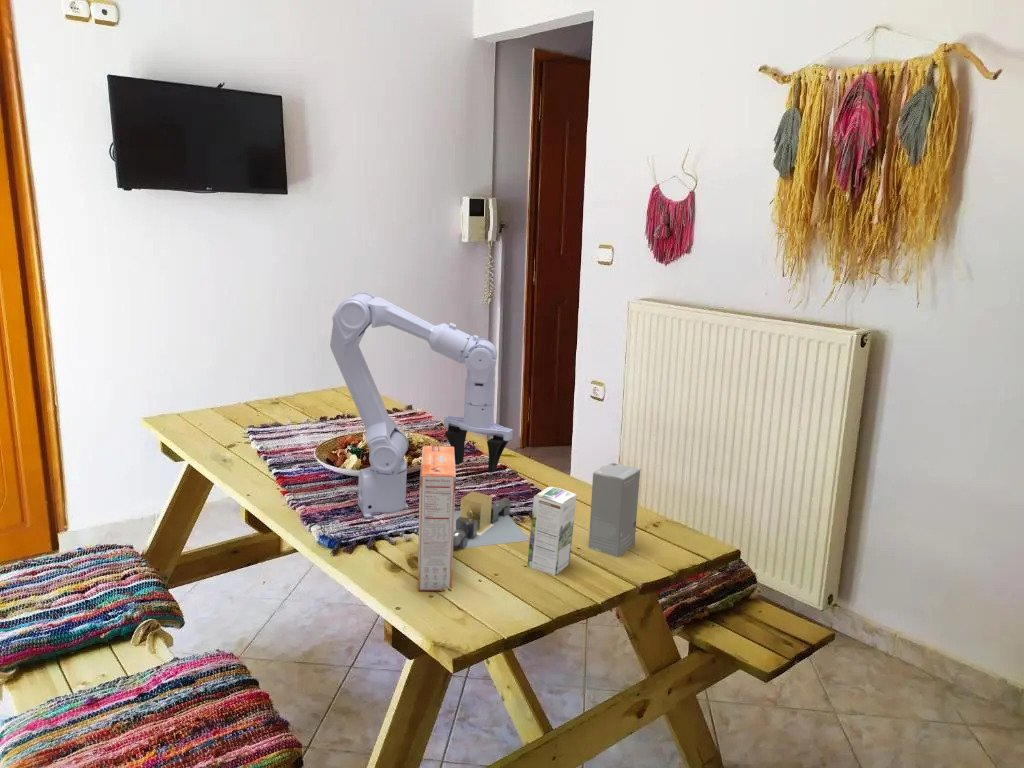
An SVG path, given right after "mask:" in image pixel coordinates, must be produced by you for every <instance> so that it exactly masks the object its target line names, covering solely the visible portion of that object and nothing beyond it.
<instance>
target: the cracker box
mask: <svg viewBox="0 0 1024 768" xmlns="http://www.w3.org/2000/svg"><path fill="white" fill-rule="evenodd" d="M421 452H422V453H421V461H420V472H419V473H420V475H419V492H418V493H419V496H418V497H419V499H418V543H417V545H418V548H417V551H418V552H417V553H418V556H417V558H418V559H417V563H418V564H417V568H418V569H417V579H418V580H417V581H418V582H417V585H418V587H417V588H418V591H419V592H421V591H423V592H430V591H431V592H437V591H439V592H445V591H446V590H445V589H451V588H453V587H452V586H453V584H452V583H453V563H454V562H453V559H454V558H453V557H454V556H453V555H454V549H453V536H454V511H456V510H455V509H456V508H455V506H456V505H455V504H456V503H455V502H456V485H457V477H456V476H457V475H456V474H457V473H456V464H455V454H454V447H451V446H450V445H449V446H448V445H447V446H438V445H423V446H422V451H421Z"/></svg>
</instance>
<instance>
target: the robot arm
mask: <svg viewBox="0 0 1024 768" xmlns="http://www.w3.org/2000/svg"><path fill="white" fill-rule="evenodd" d="M331 319H332V328H331V335H330V336H331V337H330V345H329V346H330V350H331V352H332V354H333V357H334V359H335V362H336V364H337V366H338V368H339V370H340V373H341V375H342V378H343V380H344V382H345V385H346V386H347V389H348V391H349V393H350V396H351V398H352V400H353V403H354V405H355V407H356V410H357V412H358V414H359V417H360V418H361V421H362V424H363V425H364V428H365V436H366V437H365V438H366V439H365V440H366V444H367V446H368V447H367V448H368V452H369V455H368V460H369V463H370V466H368V467H366V468H365V467H364V468H361V469H359V471H358V485H357V486H358V498H357V500H358V501H357V504H358V507H359V509H360V511H361V513H362V516H363V517H364V519H367V518H375V516H374V515H373V514H375V513H395V512H399V511H401V510H403V509H405V508H409V505H408V503H407V500H406V499H407V477H408V476H407V472H408V467H407V466H408V464H407V463H406V461H405V459H404V456H405V455H406V453H407V451H408V450H409V446H410V445H409V440H408V437H407V435H406V434H405V433H404V432H403V431H401V430H400V429H399V427H398V425H397V423H396V422H395V420H394V419H392V418H391V417H390V415H389V412H388V411H387V408H386V406H385V404H384V401H383V399H382V397H381V394H380V392H379V390H378V388H377V385H376V383H375V380H374V378H373V376H372V373H371V371H370V369H369V367H368V365H367V361H366V359H365V357H364V355H363V353H362V350H361V347H360V343H361V341H362V339H363V337H364V335H365V333H366V330H367V329H368V328H369V326H371V328H372V329H375V328H380V327H386V326H390V327H393V328H396V329H398V330H400V331H402V332H405V333H408V334H410V335H413V336H415V337H417V338H419V339H422V340H425V341H426V342H427V343H428V345H429V347H430V349H431V351H433V352H436V354H437V353H438V354H440V355H442V356H444V357H445V358H448V359H451V360H452V361H454V362H457V363H459V364H465V367H466V369H467V371H466V373H467V374H466V378H465V384H464V385H465V387H464V403H463V404H464V406H463V407H464V408H463V409H464V410H463V417H460V416H453V415H447V416H445V417H444V418H443V427H444V428H448V429H447V430H446V431H445V432H444V435H445V437H446V439H447V441H448V443H449V446H450V447H454V454H455V466H459V465H460V464H462V463H463V462H464V458H465V444H466V439H467V434H468V432H471V433H475V434H480V435H483V436H484V435H485V436H489V437H491V438H490V439H488V440H486V444H487V449H488V450H487V451H488V466H487V467H488V469H487V471H488V473H490V474H493V473H494V472H496V471H497V467H498V465H499V462H500V458H501V456H502V453H503V452H504V450H505V448H506V446H508V444H509V442H510V440H512V439H513V435H514V429H512V428H509V427H505V426H503V425H500V424H497V423H496V422H493V418H494V403H495V388H496V387H495V386H496V381H495V376H496V370H495V367H496V364H497V358H498V351H497V347H496V346H495V345H494V344H493V343H492V342H491V341H489V340H488V339H487V338H479V337H480V336H479V335H476V334H473V335H471V334H468V333H467V332H464V331H462V330H460V329H458V328H457V325H456V324H455V323H453V322H450V323H449V324H447V323H445V322H444V323H440V324H438V325H434V324H433V323H431V322H428V321H426V320H424V319H422V318H421V317H419V316H416V315H415V314H413V313H411V312H409V311H408V310H405V309H403V308H402V307H399V306H398V305H395V304H394V303H392V302H390V301H389V300H386V299H385V298H383V297H379V296H374V295H372V294H371V293H369V292H365V291H361V292H360V291H359V292H357V293H354V294H353V295H352V296H351V297H349V298H346V299H345V300H343V301H341V303H339V305H338V306H337V308H336V310H335V311H334V313H333V315H332V317H331Z"/></svg>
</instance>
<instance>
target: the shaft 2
mask: <svg viewBox="0 0 1024 768" xmlns="http://www.w3.org/2000/svg"><path fill="white" fill-rule="evenodd" d="M511 506H512V502H511V499H510V498H508V497H503V498H502V499H499V500H498V501H495V502H493V503H492V505H491V521H490V523H491V524H493V523H495V522H497V521H498V515H500V516H503V517H505V516H506V515H510V514H511V513H510V512H511Z"/></svg>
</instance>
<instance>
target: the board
mask: <svg viewBox="0 0 1024 768" xmlns="http://www.w3.org/2000/svg"><path fill="white" fill-rule="evenodd" d="M459 517H460V510H454V532H455V531H456V520H457V519H458V518H459ZM528 541H529V542H530V537H528V535H526V533H525V532H524V531H523V530H522V529H521V528H520V526H519V525H518V524H517V523H516V522H515V521H514V519H512V517H511V516H510V514H508V515H506V516H505V517H503V516H500V515H498V521H497V522H495V523H493V524H491V523H490V525H489V526H488V527H487V528H485V529H484V530H483V531H481V532H480V533H478V532H477V536H476V537H475V538H474V539H473V540H472V539H468V538H467V545H466V546H465V548H464V549H469V548H474V547H475V548H477V547H485V546H493V545H503V544H513V543H519V542H520V543H521V542H528ZM458 549H459V548H453V550H458Z"/></svg>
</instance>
